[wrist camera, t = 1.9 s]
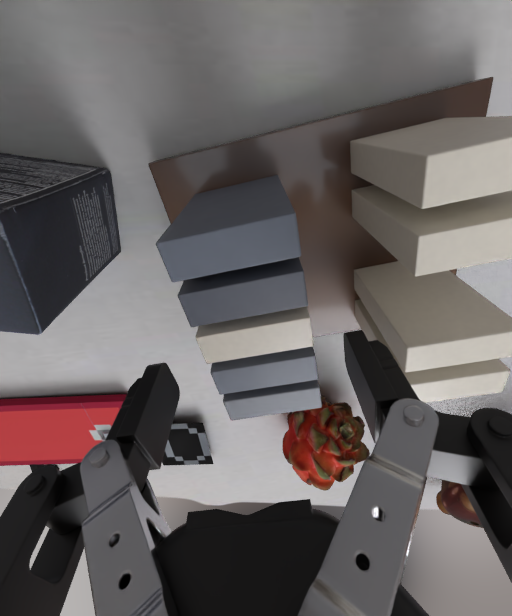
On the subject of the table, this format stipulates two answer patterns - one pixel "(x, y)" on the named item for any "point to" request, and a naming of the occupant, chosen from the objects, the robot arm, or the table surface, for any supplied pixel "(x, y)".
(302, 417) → the dragon fruit
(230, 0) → the table surface
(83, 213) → the small box
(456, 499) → the decorative turtle
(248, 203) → the grey books
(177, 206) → the board
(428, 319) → the white books
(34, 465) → the red board with handle
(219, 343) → the cream thin block
